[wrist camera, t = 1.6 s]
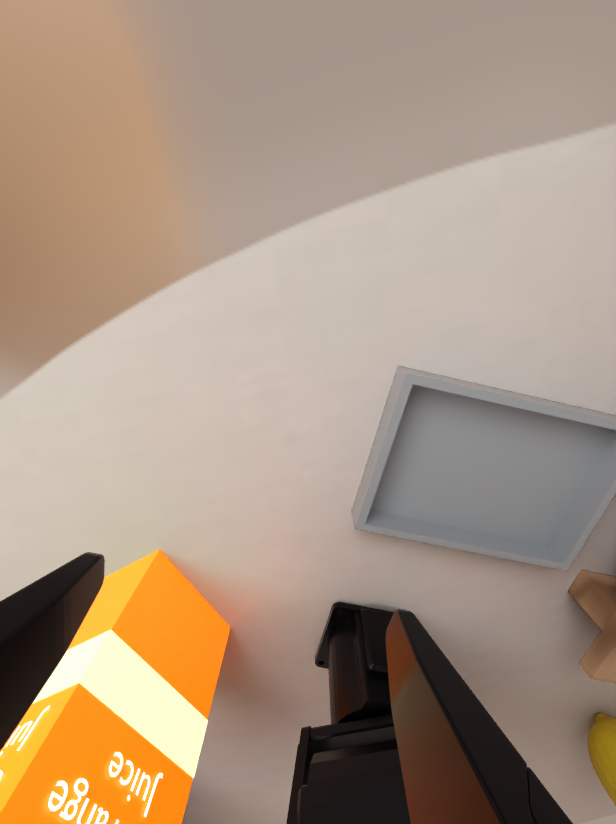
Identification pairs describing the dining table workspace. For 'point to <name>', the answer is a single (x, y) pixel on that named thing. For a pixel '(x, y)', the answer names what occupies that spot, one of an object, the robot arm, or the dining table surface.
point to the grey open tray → (487, 470)
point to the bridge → (598, 622)
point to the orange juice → (120, 708)
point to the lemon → (604, 751)
